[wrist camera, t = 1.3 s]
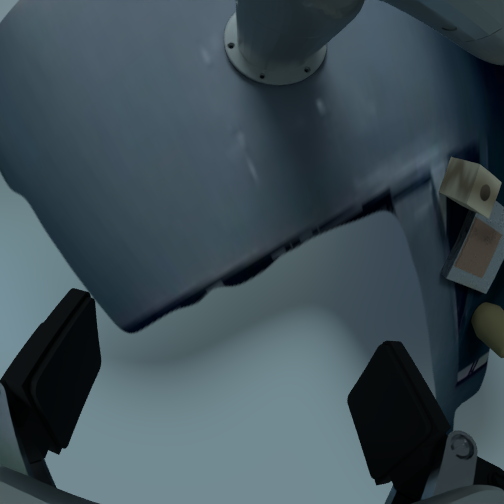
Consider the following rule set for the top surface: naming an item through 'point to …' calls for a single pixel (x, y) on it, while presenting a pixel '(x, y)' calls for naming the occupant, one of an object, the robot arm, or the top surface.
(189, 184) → the top surface
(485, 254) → the press
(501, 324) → the squeeze bottle
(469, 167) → the maple block
